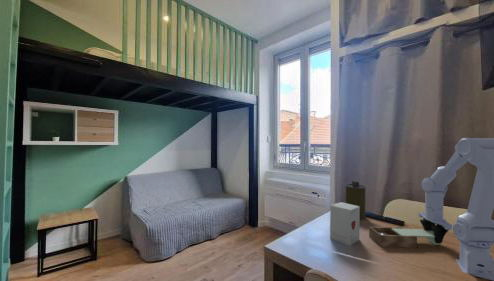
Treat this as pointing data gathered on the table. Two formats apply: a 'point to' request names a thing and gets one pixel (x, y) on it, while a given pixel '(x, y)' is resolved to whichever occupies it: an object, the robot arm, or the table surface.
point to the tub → (391, 238)
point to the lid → (417, 234)
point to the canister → (356, 196)
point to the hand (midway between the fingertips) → (433, 240)
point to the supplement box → (344, 223)
